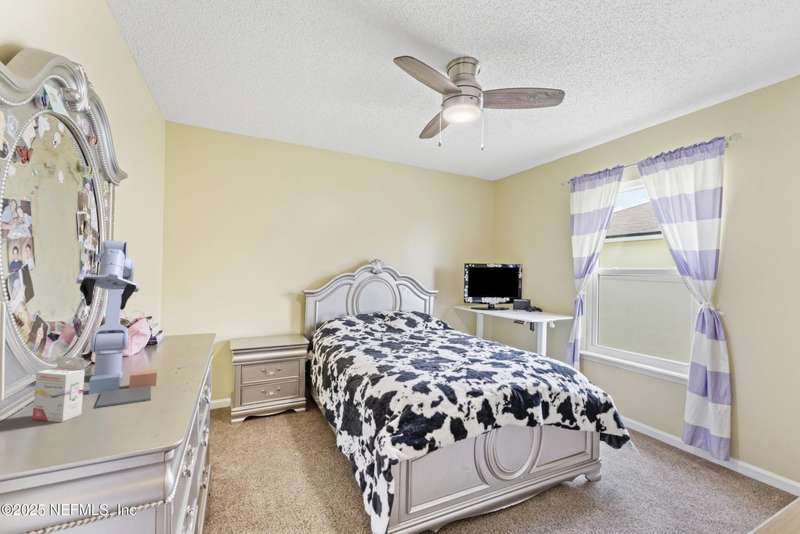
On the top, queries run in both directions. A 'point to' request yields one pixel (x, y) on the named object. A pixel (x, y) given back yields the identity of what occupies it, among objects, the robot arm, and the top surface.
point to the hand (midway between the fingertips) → (106, 305)
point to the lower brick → (104, 383)
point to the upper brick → (143, 378)
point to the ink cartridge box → (59, 391)
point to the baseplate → (124, 396)
